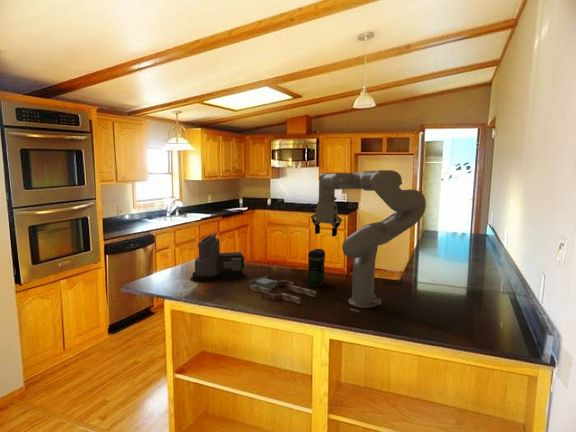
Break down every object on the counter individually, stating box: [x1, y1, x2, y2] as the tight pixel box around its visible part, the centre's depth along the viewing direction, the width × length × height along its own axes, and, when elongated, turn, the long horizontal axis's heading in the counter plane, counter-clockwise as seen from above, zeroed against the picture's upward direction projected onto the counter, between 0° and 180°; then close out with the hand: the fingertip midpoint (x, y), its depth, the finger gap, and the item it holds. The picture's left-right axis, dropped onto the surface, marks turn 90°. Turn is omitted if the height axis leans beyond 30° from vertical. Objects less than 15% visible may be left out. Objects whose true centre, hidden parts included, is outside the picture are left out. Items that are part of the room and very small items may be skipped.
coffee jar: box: [307, 248, 326, 288], centre depth 198 cm, size 10×8×19 cm
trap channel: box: [247, 275, 317, 305], centre depth 186 cm, size 32×21×4 cm
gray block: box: [255, 278, 275, 290], centre depth 193 cm, size 7×7×4 cm
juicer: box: [189, 233, 247, 283], centre depth 209 cm, size 30×16×24 cm, turn 105°
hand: (325, 234), depth 184 cm, fingers open, 9 cm apart
